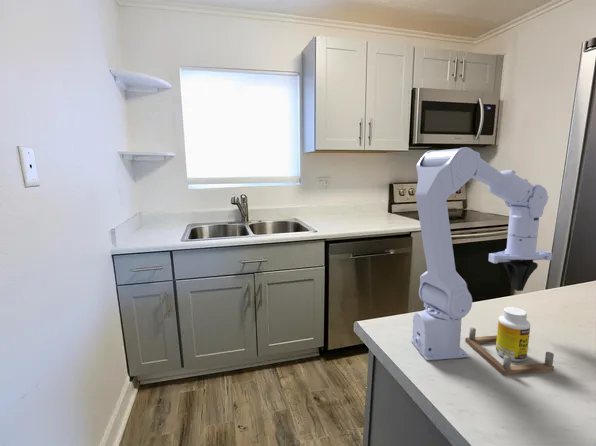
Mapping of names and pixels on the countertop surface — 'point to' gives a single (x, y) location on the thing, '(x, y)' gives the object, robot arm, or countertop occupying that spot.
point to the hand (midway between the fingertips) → (517, 289)
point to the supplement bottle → (513, 334)
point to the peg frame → (506, 357)
